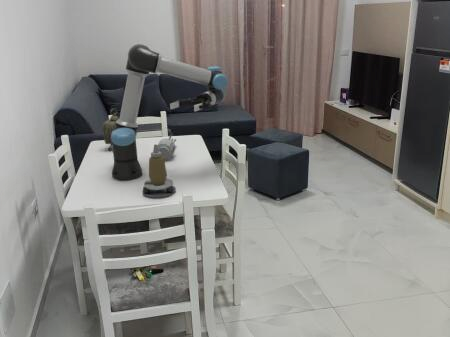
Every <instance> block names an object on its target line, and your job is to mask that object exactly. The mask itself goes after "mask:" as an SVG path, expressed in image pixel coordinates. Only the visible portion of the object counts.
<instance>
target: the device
mask: <svg viewBox="0 0 450 337" xmlns="http://www.w3.org/2000/svg"><path fill="white" fill-rule="evenodd" d="M175 142H177V138H175V139H174V138H172V134H169V137H168V138H162V139H161V140H159V142H158V143H157V144H156V145H157V147H158V150H159V151H160V152H161V154H162V157H164V161H166V162H167V161H168V160H170V159H171V158H172V157H173V155H174V153H175V150H176V144H175Z"/></svg>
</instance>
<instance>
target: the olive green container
mask: <svg viewBox="0 0 450 337" xmlns="http://www.w3.org/2000/svg"><path fill="white" fill-rule="evenodd" d="M113 110H115V112H113ZM112 112H113V113H112ZM117 112H118V110H117V108H116V107H114V108H111V110H110V115H111V117H110V119H108V120H106V121H104V122H103V123H102V133H103V134H102V135H103V140H104V144H106V145H110V146H109V147H108V149H107V151H112V150H111V149H112V140H111V133H112V132H113V131H114V129H115V124H116V121H117V120H118V119H119V118H120V117H118V116H117Z"/></svg>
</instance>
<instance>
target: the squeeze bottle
mask: <svg viewBox="0 0 450 337" xmlns="http://www.w3.org/2000/svg"><path fill="white" fill-rule="evenodd" d="M157 145H158V144H154V145H153V150H152V151H151V153H150V156H149V158H148V160H149V161H148V177H149V180H151V182H152V184H154V185H160V184H164V183H165V180H166V178H167V175H168V174H167V167H166V162H165V161H164V157H162V154H161V152H160V151H159V150H158V147H157Z"/></svg>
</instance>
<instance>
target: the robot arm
mask: <svg viewBox="0 0 450 337" xmlns="http://www.w3.org/2000/svg"><path fill="white" fill-rule="evenodd" d="M127 52H128V53H127V61H126V65H125V66H126V67H125V70H126V72H127V77H126V84H125V88H124V93H123V98H122V104H121V108H120V109H121V110H120V115H119V117H118V118H119V119H118V120H117V121H116V124H115V129H114V131H113V132H112V133H111V140H112V146H111V148H112V154H113V165H112V166H113V167H112V170H111V177H112V179H114V180H116V181H129V180H135V179H138V178H141V176H143V169H142V167H141V164H140V162H139V160H138V149H137V133H138V128H139V124H138V123H137V119H138V115H139V110H140V104H141V100H142V96H143V95H142V94H143V90H144V86H145V85H144V84H145V79H146V77H148V76H150V73H152V74H157V73H161V74H164V75H166V76H167V75H168V76H172V77H174V78H178V79H183V80H185V81H189V82H193V83H197V84H200V85H204V86H207V91H205V92H202V93H199V94H198V95H196V97H194V98H191V97H190V98H189V97H188V98H185V99H177V100H173V102H172V103H171V102H170V103H169V107H170V108H169V109H170V110H175V109H178V108H180V107H185V106H190V107H193V108H194V109H193V112H198V111H200V110H205V109H207V110H209V109H210V108H211V106H213V105H214V106H215V105H217V104H220V103H223V101H225V99H226V93H225V91H224V89H226V87H227V86H228V84H229V83H228V82H229V80H228V78H227V76H226V75H225V74H223V72H222V67H220V66H208V67H207V69H206V68H202V67H200V66H196V65H193V64H188V63H185V62H182V61H178V60H175V59H173V58H168V57H165V56H162V55H161V53H159V52H156V51H154V50H151V49H150V48H149V47H148V46H147V45H144V44H141V43H140V44H135V45H133V46H131V47H130V48H129V50H128V51H127Z"/></svg>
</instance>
